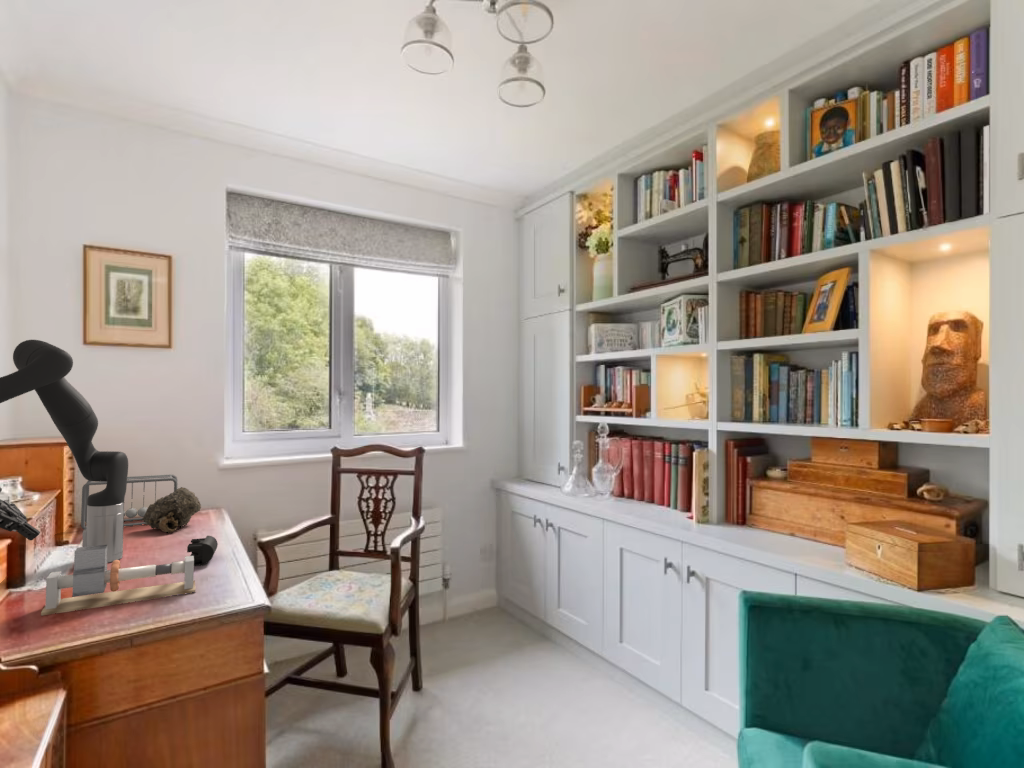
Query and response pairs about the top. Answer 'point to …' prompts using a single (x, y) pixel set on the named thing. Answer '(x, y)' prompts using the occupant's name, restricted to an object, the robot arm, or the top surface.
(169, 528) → the rock
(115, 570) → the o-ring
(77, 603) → the base board
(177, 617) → the top surface
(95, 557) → the grooved slider block
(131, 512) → the newton's cradle
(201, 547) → the end cap
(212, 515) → the top surface
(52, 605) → the rod
